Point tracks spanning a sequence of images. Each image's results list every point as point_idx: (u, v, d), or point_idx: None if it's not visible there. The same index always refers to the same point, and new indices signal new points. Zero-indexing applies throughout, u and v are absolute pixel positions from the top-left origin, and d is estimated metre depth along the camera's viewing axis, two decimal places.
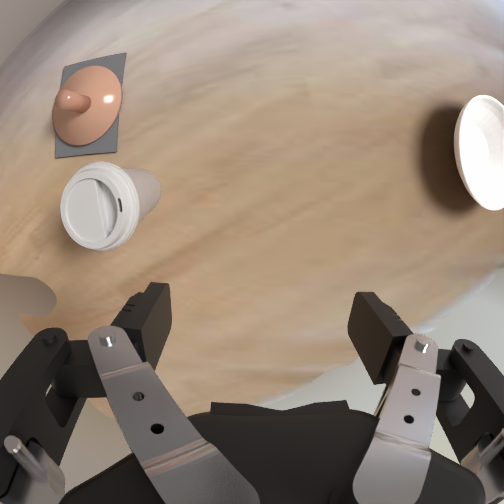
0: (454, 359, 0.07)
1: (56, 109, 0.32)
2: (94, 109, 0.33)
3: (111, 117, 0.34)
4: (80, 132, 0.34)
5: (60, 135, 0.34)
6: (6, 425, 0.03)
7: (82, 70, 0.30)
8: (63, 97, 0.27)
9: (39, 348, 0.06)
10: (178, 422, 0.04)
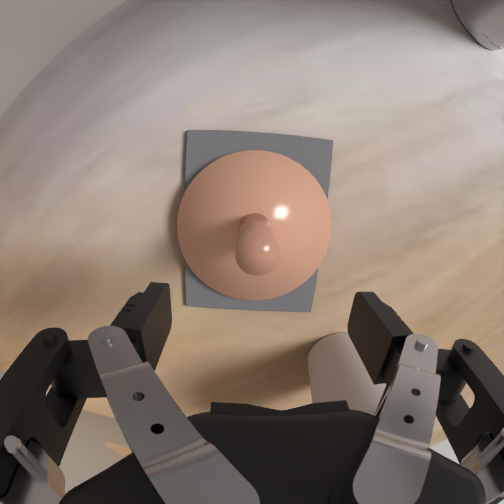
0: (454, 359, 0.07)
1: (185, 225, 0.23)
2: (279, 244, 0.24)
3: (313, 264, 0.24)
4: (249, 279, 0.25)
5: (201, 277, 0.25)
6: (6, 425, 0.03)
7: (245, 155, 0.21)
8: (260, 251, 0.18)
9: (39, 348, 0.06)
10: (177, 421, 0.04)
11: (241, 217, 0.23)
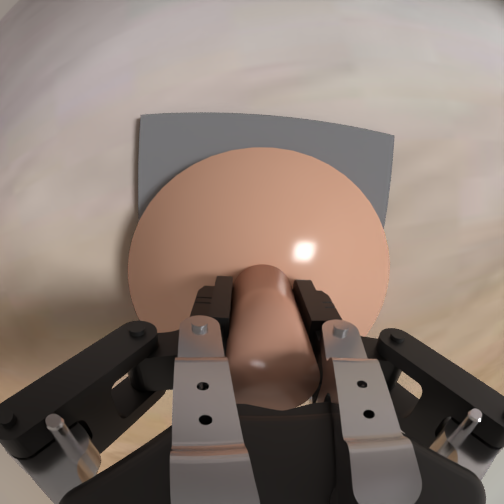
0: (385, 353, 0.08)
1: (142, 282, 0.13)
2: None
3: None
4: None
5: None
6: (56, 403, 0.04)
7: (243, 157, 0.11)
8: (279, 379, 0.07)
9: (122, 339, 0.07)
10: (228, 419, 0.04)
11: (237, 271, 0.13)
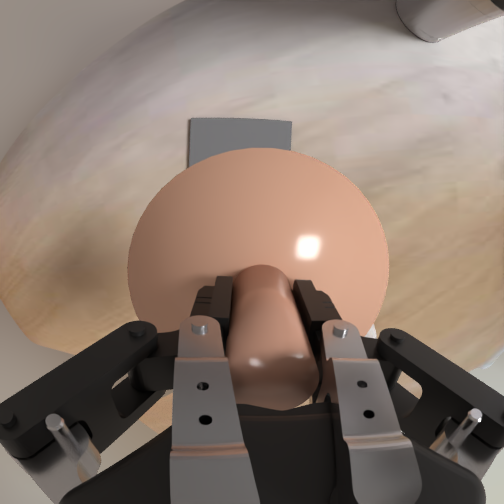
0: (385, 353, 0.08)
1: (142, 282, 0.13)
2: None
3: None
4: None
5: None
6: (56, 403, 0.04)
7: (243, 157, 0.11)
8: (278, 379, 0.07)
9: (122, 339, 0.07)
10: (228, 419, 0.04)
11: (237, 271, 0.13)
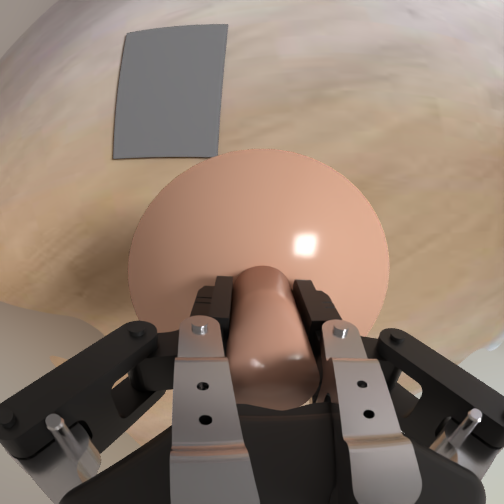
0: (385, 353, 0.08)
1: (142, 283, 0.13)
2: None
3: None
4: None
5: None
6: (56, 403, 0.04)
7: (243, 158, 0.11)
8: (279, 380, 0.07)
9: (122, 339, 0.07)
10: (228, 419, 0.04)
11: (237, 272, 0.13)
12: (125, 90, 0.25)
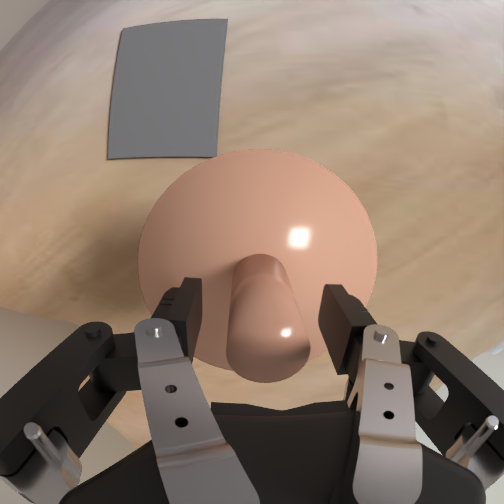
0: (419, 354, 0.07)
1: (151, 271, 0.14)
2: (298, 300, 0.15)
3: None
4: None
5: None
6: (30, 411, 0.04)
7: (243, 158, 0.13)
8: (274, 348, 0.09)
9: (80, 341, 0.07)
10: (203, 418, 0.04)
11: (238, 260, 0.14)
12: (120, 87, 0.24)
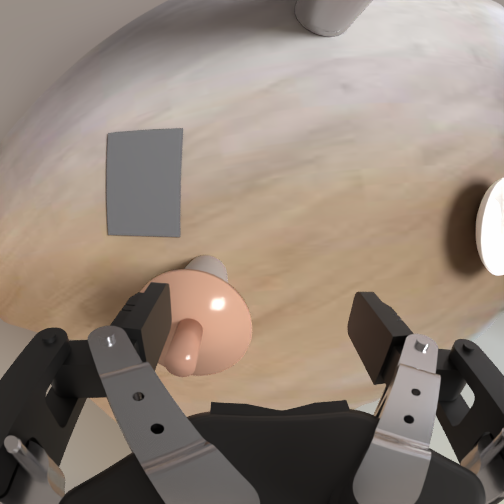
0: (454, 359, 0.07)
1: None
2: (210, 339, 0.29)
3: (240, 353, 0.29)
4: None
5: None
6: (6, 425, 0.03)
7: (175, 276, 0.27)
8: (181, 363, 0.23)
9: (39, 348, 0.06)
10: (178, 421, 0.04)
11: (178, 320, 0.28)
12: (112, 183, 0.38)
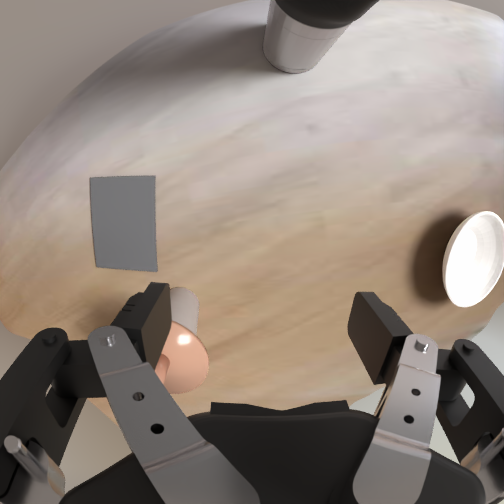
0: (454, 359, 0.07)
1: None
2: (176, 368, 0.34)
3: (200, 379, 0.35)
4: None
5: None
6: (6, 425, 0.03)
7: None
8: None
9: (39, 348, 0.06)
10: (178, 421, 0.04)
11: None
12: (96, 223, 0.43)
